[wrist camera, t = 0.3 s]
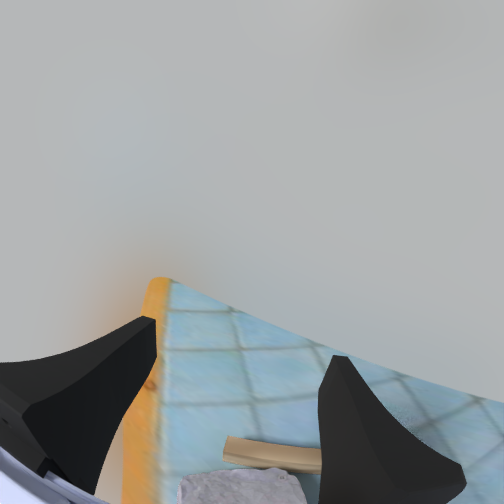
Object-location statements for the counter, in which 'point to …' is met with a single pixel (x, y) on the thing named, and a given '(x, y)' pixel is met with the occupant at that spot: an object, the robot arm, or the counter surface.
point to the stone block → (241, 487)
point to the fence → (272, 456)
